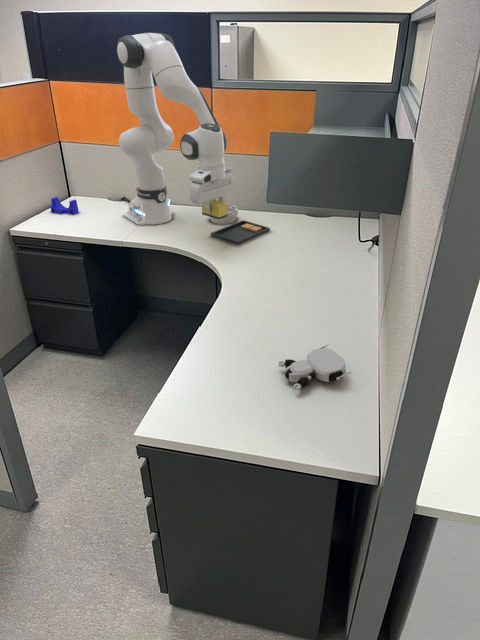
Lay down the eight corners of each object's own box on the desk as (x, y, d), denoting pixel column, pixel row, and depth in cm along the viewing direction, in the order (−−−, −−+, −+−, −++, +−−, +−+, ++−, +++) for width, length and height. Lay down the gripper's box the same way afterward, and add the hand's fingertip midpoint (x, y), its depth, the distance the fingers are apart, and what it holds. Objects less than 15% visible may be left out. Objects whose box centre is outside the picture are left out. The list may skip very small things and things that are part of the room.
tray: (211, 237, 201) (210, 232, 200) (243, 224, 213) (243, 220, 212) (237, 246, 192) (237, 241, 191) (269, 232, 205) (269, 227, 204)
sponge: (202, 214, 188) (201, 201, 186) (210, 211, 191) (209, 198, 189) (219, 219, 183) (218, 206, 181) (227, 216, 186) (227, 203, 183)
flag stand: (220, 213, 225) (217, 144, 210) (243, 218, 218) (243, 148, 203) (202, 221, 216) (198, 150, 200) (226, 227, 209) (223, 154, 194)
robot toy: (295, 400, 115) (353, 383, 119) (295, 385, 113) (354, 368, 116) (275, 370, 125) (329, 355, 129) (275, 356, 123) (330, 341, 126)
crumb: (248, 230, 205) (248, 228, 205) (255, 227, 208) (255, 225, 207) (256, 232, 203) (256, 230, 202) (262, 229, 205) (262, 227, 205)
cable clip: (51, 212, 229) (48, 199, 226) (58, 209, 233) (55, 196, 230) (72, 215, 225) (69, 202, 222) (78, 212, 228) (76, 199, 225)
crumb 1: (240, 227, 208) (240, 225, 207) (247, 225, 210) (247, 223, 210) (248, 229, 205) (247, 228, 205) (254, 227, 208) (254, 225, 208)
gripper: (225, 165, 187) (227, 201, 194) (186, 176, 174) (188, 215, 181) (238, 168, 184) (239, 204, 191) (198, 180, 171) (200, 218, 178)
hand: (214, 209), depth 186 cm, fingers closed on sponge, 4 cm apart
